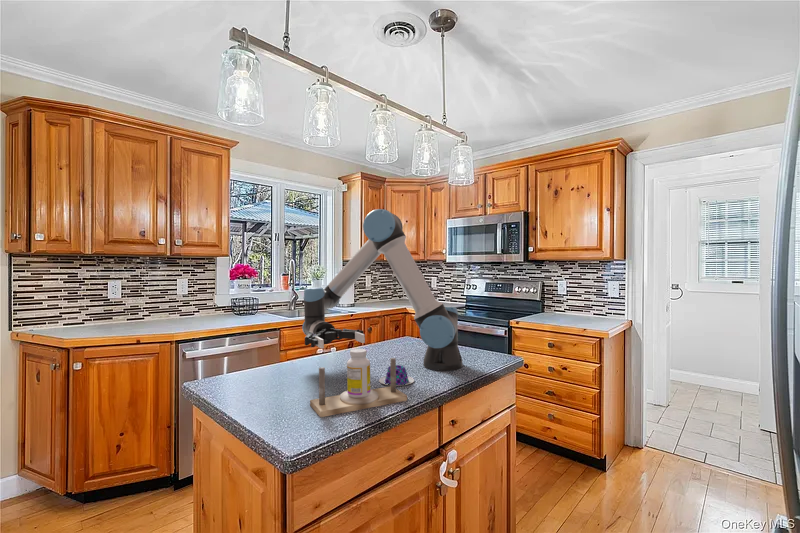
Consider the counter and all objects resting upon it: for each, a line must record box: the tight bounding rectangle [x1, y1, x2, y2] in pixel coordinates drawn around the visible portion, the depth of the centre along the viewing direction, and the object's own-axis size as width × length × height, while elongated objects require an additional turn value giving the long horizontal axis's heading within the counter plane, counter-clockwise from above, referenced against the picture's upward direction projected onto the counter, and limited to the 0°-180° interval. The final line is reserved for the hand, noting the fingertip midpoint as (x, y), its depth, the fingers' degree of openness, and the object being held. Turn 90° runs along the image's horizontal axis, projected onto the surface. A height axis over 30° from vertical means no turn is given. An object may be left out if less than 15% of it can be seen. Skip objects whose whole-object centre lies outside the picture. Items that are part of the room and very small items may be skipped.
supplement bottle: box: [346, 348, 371, 398], centre depth 114 cm, size 7×7×13 cm
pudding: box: [378, 364, 415, 387], centre depth 135 cm, size 12×12×5 cm
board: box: [309, 357, 408, 418], centre depth 114 cm, size 26×11×12 cm, turn 118°
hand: (343, 341), depth 124 cm, fingers open, 13 cm apart
